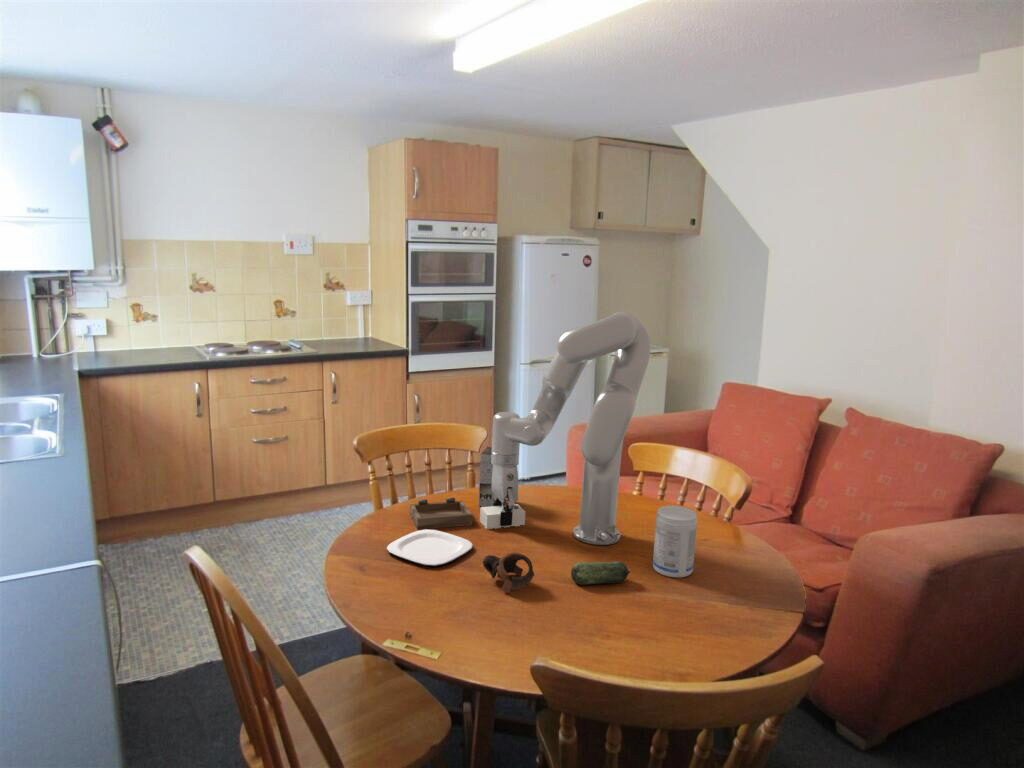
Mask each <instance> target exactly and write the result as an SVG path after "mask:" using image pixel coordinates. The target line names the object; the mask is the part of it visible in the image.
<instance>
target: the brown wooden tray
mask: <svg viewBox="0 0 1024 768" xmlns="http://www.w3.org/2000/svg"><path fill="white" fill-rule="evenodd" d="M410 515H411V516H410ZM409 516H410V517H412V518H411V519H413V520H412V521H414V522H413V523H414V525H415V527H416V530H418V529H419V530H425V529H428V530H430V529H429V528H431V529H440V528H441V527H443V528H450V527H451V528H452V526H455V527H464V525H467V526H473V513H472V512H471V511H470V509H469V508H468V507H467V505H466V504H465V502H464V501H463V500H457V501H456V498H455V497H446V498H445V501H439V502H428V499H418V500H417V503H413V504H412V503H411V504H409Z"/></svg>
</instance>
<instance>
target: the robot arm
mask: <svg viewBox="0 0 1024 768" xmlns="http://www.w3.org/2000/svg"><path fill="white" fill-rule="evenodd" d="M649 338H650V337H649V334H648V332H647V330H646V328H645V326H644V325H643V323H642V322H641V321H640V320H639V319H638V318H637V317H636V316H635V315H634V314H632V313H629V312H627V311H617V312H614V313H612V314H611V315H609V316H607V317H603V318H602V319H598V320H597V321H594V322H591V323H589V324H586V325H585V324H584V325H583V326H579V327H572V328H570V329H568V330H566V331H565V332H563V333H562V334H561V335H560V336H559V339H558V341H557V346H556V347H557V349H556V351H555V353H554V355H553V357H552V359H551V361H550V363H549V364H548V367H547V368H546V371H545V372H544V374H543V377H542V382H541V388H540V392H539V394H538V396H537V398H536V401H535V403H534V404H533V406H532V408H531V410H530V412H529V414H528V415H527V416H526V417H521V415H519V414H518V413H515V412H511V411H499V412H496V414H494V416H493V418H492V435H491V447H492V453H491V463H492V464H493V470H492V492H493V494H494V497H493V502H495V503H493V506H502V512H501V516H500V525H501V526H510V525H512V512H513V507H514V504H515V502H518V500H519V471H518V465H519V464H520V463H519V462H520V445H521V444H522V445H526V446H529V447H530V446H531V447H532V446H534V447H535V446H538V445H541V444H542V443H543V442H544V440H545V439H546V438H547V436H549V434H550V432H552V430H553V428H554V426H555V424H556V422H557V420H558V418H559V416H560V414H561V412H562V410H563V408H564V406H565V405H566V403H567V401H568V399H569V398H570V397H571V394H572V393H573V391H574V388H575V387H576V385H577V383H578V381H579V379H580V377H581V375H582V373H583V371H584V369H585V367H586V365H587V364H588V362H589V361H591V360H594V359H597V358H600V357H603V356H605V355H608V354H611V353H615V352H616V353H615V357H614V359H613V362H612V365H611V367H610V368H611V369H610V371H609V374H608V377H607V379H606V382H605V385H604V387H603V388H602V389H601V391H600V393H599V394H598V395H597V397H596V400H595V402H594V405H593V407H592V411H591V414H590V416H589V419H588V422H587V423H586V427H585V430H584V433H583V436H582V438H581V442H580V450H581V455H582V456H583V458H584V459H583V469H582V481H581V482H582V483H581V497H580V511H579V512H580V513H579V524H578V525H576V526H575V527H573V530H572V534H573V536H574V537H575V538H576V539H577V540H579V541H580V542H582V543H585V544H589V545H597V546H598V545H599V546H603V545H604V546H607V545H612V544H615V543H617V542H619V541H620V540H621V535H622V534H621V532H620V531H619V530H618V528H616V524H617V523H616V522H617V509H618V498H619V497H618V496H619V483H620V472H621V463H622V461H621V460H622V453H623V445H624V442H623V441H624V439H625V436H626V433H627V430H628V428H629V426H630V422H631V420H632V417H633V415H634V412H635V410H636V409H635V407H636V404H637V398H638V395H639V392H640V389H641V386H642V384H643V380H644V376H645V374H646V371H647V368H648V365H649V361H650V357H651V356H650V355H651V341H650V339H649ZM504 498H505V500H504ZM506 499H507V500H506ZM505 505H506V506H505Z"/></svg>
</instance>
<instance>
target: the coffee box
mask: <svg viewBox="0 0 1024 768" xmlns="http://www.w3.org/2000/svg"><path fill="white" fill-rule="evenodd" d="M491 453H492V446H487V447H485V449H484V450H483V451H482V452H481V453H480V467H479V486H478V488H479V489H478V490H479V491H478V507H480V506H481V507H490V506H493V503H495V502H493V497H494V494H493V492H492V470H493V464H492V463H491ZM504 500H506V498H504Z"/></svg>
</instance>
